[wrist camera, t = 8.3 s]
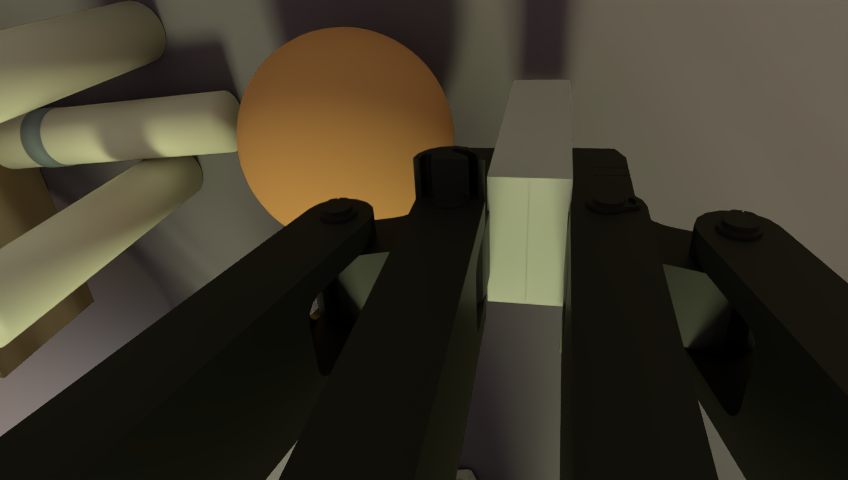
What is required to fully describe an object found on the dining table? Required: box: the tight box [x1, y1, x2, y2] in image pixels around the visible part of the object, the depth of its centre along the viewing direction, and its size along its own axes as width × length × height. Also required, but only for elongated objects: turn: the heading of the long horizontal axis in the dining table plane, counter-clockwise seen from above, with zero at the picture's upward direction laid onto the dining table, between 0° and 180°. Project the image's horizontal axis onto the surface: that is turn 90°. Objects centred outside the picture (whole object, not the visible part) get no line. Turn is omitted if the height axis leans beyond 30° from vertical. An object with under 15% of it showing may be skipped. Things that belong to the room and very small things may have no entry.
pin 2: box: [0, 155, 203, 348], centre depth 18 cm, size 2×2×9 cm
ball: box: [236, 27, 454, 226], centre depth 17 cm, size 6×6×6 cm
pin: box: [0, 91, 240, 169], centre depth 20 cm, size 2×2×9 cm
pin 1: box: [0, 0, 166, 123], centre depth 16 cm, size 2×2×9 cm
